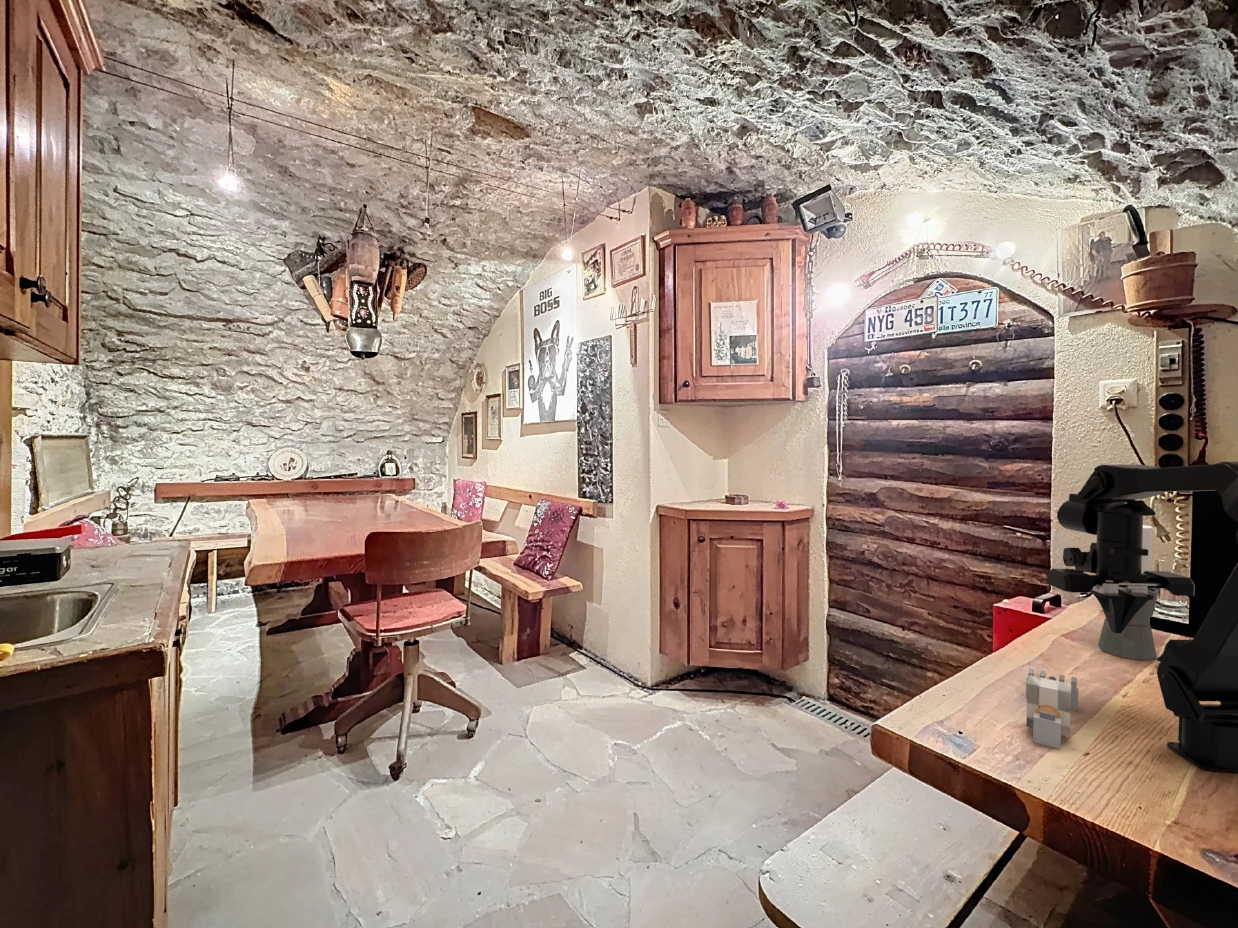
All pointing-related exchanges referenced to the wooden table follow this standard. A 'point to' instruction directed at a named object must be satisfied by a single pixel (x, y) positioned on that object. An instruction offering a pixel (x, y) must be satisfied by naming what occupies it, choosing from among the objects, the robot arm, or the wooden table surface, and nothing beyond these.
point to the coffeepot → (1132, 634)
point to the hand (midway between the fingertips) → (1116, 632)
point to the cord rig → (1051, 716)
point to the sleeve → (1049, 700)
